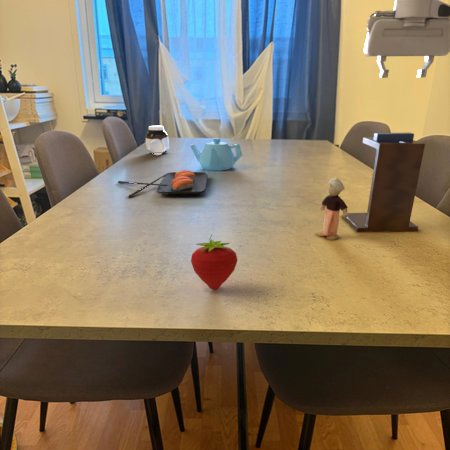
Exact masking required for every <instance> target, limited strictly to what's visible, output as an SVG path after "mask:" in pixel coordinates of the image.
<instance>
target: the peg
mask: <svg viewBox="0 0 450 450" xmlns="http://www.w3.org/2000/svg"><path fill="white" fill-rule="evenodd" d="M373 137H374V138H373V140H374V141H387V142H390V143H400V141H413V140H414V138H415V133H414V132H374V133H373Z"/></svg>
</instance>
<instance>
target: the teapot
mask: <svg viewBox="0 0 450 450" xmlns="http://www.w3.org/2000/svg"><path fill="white" fill-rule="evenodd" d="M212 140H213V141H211V142H206V143H205V144H204V146H203V148H202V150H201V152H200V150H199V149H198V148H197V146H196V145H195V144H190V145H189V146H190V148H191V150H192V152H193V155H194V156H195V158H196V160H197V162H198V163H199V165H200V167H201V168H202V169H203V170H206V171H227V170H231V169H233V167H234V166H235V164H236V162H237V161H238V160H240V159H241V158H242V157H243V153H242V149H241V145H240V143H234V144H229V143H228V142H225V141H221V138H220V137H214V138H213V139H212ZM232 149H235V152H236V155H234V152H233V150H232Z"/></svg>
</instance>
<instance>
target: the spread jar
mask: <svg viewBox="0 0 450 450" xmlns="http://www.w3.org/2000/svg"><path fill="white" fill-rule="evenodd" d="M145 147H146V150H147V151H148V150H149V151H150V152H149V151H148V152H149V154H151V152H163V153H164V154H166V153H167V152H168V151H169V149H170V140H169V135H168V133H167V132H166V131H165V126H164V125H149V126H148V131H147V133H146V134H145ZM165 150H168V151H165ZM164 151H165V152H164ZM151 155H153V156H161V155H163V154H162V153H154V154H153V153H152V154H151Z"/></svg>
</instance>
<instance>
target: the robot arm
mask: <svg viewBox="0 0 450 450" xmlns="http://www.w3.org/2000/svg"><path fill="white" fill-rule="evenodd" d="M366 30H367V34H366V39H365V42H364V47H363V54H364V56H365V57H377V59H376V62H377V65H378V68H379V78H380V79H388V78H389V73H390V69H387V68H386V65H385V63H386V61H387V57H424V59H423V62H425V63H424V64H423V66H422V68H420V69H418V70H417V75H416V78H426V77H427V72H428V70H429V68H431V65H432V64H433V63H434V60H435V57H446V56H447V55H449V53H450V4H449V3H445V2H444V1H441V0H394V4H393V10H376V11H375V12H373V13H371V14H370V16H369V17H368V19H367V24H366Z"/></svg>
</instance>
